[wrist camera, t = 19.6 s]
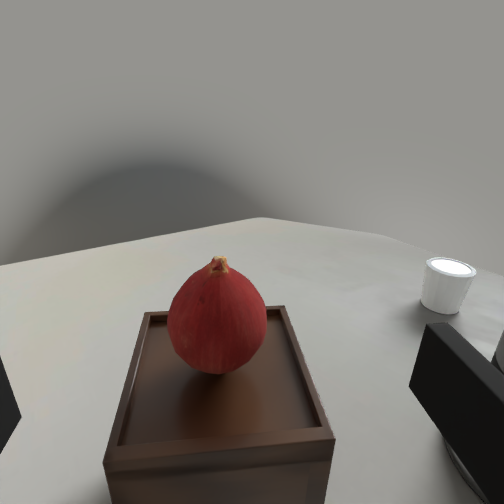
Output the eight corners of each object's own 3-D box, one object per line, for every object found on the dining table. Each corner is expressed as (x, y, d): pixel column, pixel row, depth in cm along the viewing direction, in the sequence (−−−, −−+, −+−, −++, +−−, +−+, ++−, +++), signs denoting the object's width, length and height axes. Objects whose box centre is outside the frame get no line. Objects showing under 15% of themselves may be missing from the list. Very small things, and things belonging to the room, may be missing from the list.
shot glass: (452, 322, 51) (465, 281, 48) (408, 302, 56) (418, 263, 53) (470, 306, 55) (484, 268, 52) (428, 289, 60) (438, 253, 57)
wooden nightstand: (275, 430, 34) (284, 305, 28) (308, 590, 23) (336, 439, 17) (160, 441, 32) (144, 311, 26) (138, 616, 21) (102, 462, 15)
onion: (154, 366, 22) (141, 252, 19) (225, 329, 25) (224, 228, 22) (209, 425, 18) (204, 294, 15) (283, 372, 22) (292, 257, 18)
